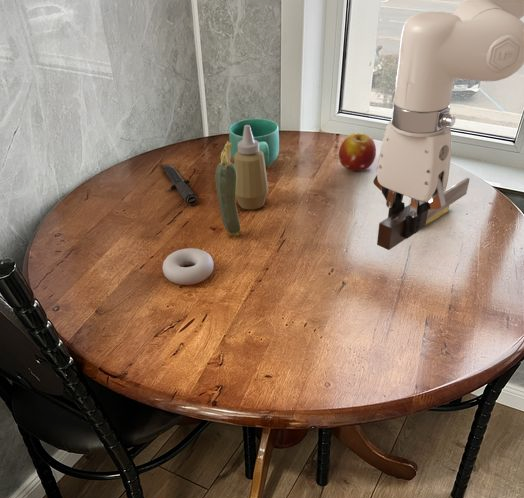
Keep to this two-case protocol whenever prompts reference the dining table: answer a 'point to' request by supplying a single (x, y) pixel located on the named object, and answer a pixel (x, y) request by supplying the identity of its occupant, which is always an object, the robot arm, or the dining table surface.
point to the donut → (188, 275)
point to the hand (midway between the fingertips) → (402, 230)
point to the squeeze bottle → (250, 172)
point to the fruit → (357, 152)
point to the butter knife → (395, 224)
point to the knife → (181, 185)
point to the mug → (257, 137)
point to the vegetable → (227, 191)
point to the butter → (438, 214)
